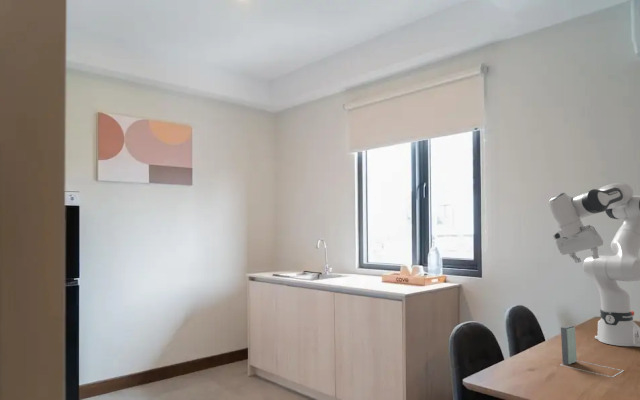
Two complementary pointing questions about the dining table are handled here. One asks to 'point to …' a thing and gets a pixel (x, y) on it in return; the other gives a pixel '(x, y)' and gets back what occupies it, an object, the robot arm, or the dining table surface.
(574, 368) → the white wire frame
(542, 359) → the dining table surface
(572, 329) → the tile
